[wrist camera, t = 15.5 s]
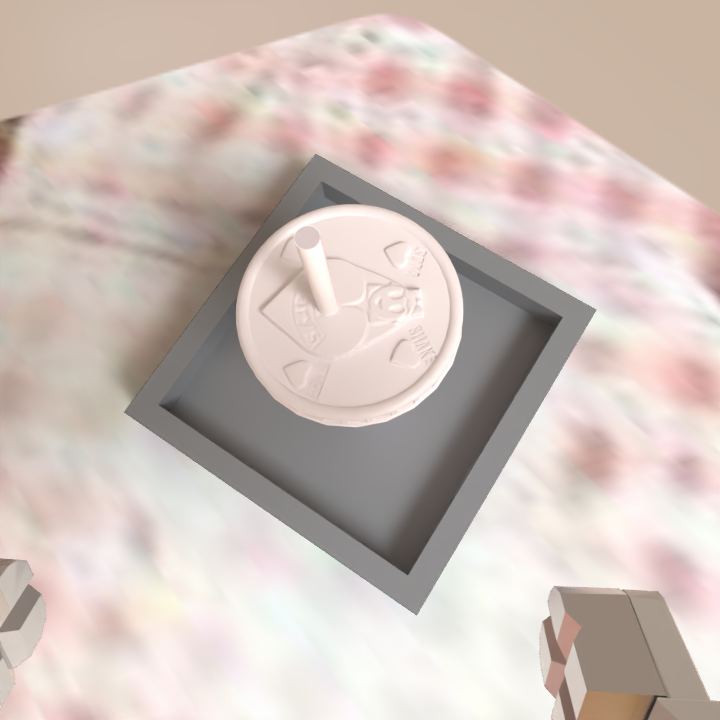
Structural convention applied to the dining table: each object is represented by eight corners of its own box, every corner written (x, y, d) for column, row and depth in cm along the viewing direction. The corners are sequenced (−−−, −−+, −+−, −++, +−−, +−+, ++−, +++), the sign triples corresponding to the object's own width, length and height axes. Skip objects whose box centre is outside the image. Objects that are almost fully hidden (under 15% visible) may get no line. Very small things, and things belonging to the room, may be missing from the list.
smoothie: (288, 315, 27) (182, 111, 13) (432, 305, 26) (476, 88, 13) (291, 460, 25) (175, 400, 12) (445, 451, 25) (511, 379, 11)
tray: (145, 420, 27) (124, 412, 25) (321, 179, 29) (315, 153, 27) (414, 606, 24) (416, 615, 22) (579, 326, 27) (596, 309, 25)
